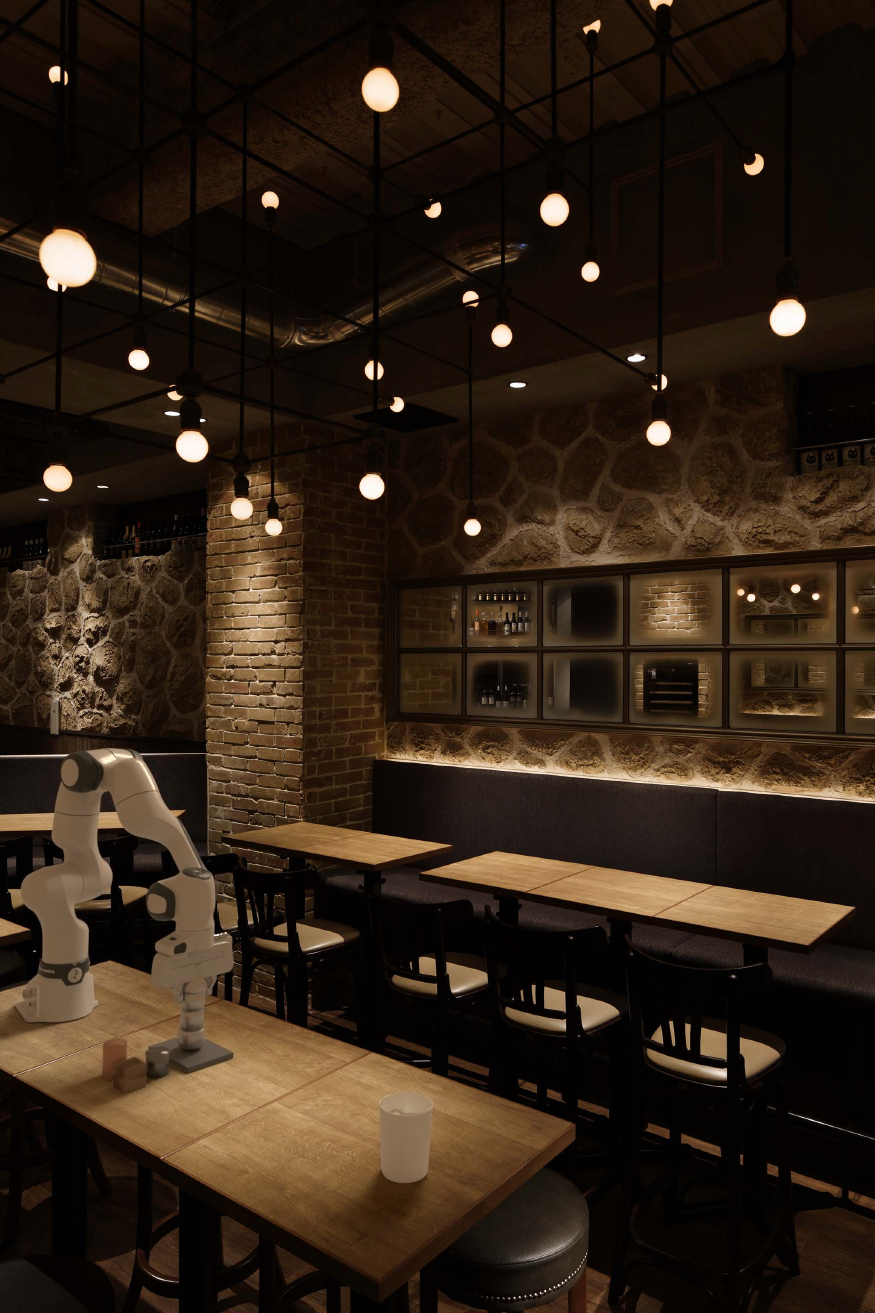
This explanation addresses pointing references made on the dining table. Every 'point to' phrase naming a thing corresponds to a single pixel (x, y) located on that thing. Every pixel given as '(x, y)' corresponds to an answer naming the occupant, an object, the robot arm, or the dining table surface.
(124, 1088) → the walnut block
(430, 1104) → the candle holder
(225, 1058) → the charcoal board
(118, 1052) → the terracotta jar
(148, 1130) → the dining table surface
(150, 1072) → the dark metal tin
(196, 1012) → the plastic bottle
